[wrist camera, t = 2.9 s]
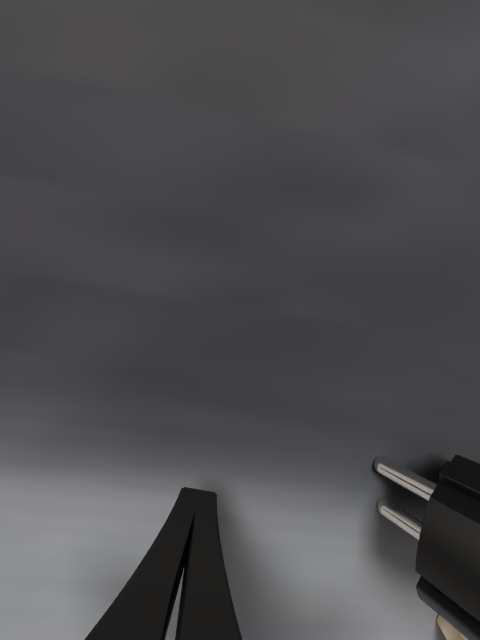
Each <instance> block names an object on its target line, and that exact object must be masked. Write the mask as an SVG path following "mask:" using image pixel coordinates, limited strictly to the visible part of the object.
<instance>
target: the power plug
mask: <svg viewBox="0 0 480 640" xmlns="http://www.w3.org/2000/svg"><path fill="white" fill-rule="evenodd" d="M374 467H375V469H376V471H377V472H378V473H380V474H381V475H383V476H385V477H386V478H388V479H390V480H392V481H393V482H395V483H397V484H399V485H401V486H402V487H404V488H406V489H408V490H409V491H411V492H413V493H415V494H417V495H418V496H420V497H422V498H424V499H425V500H427V501H428V504H427V508H426V511H425V514H424V518H423V522H421V521H420V520H418V519H417V518H415V517H413V516H412V515H410V514H409V513H407V512H406V511H404V510H402V509H401V508H399V507H398V506H396V505H395V504H393V503H391V502H390V501H388V500H386V499H381V500H380V501H379V502H378V510H379V512H380V514H381V515H383V516H384V517H385V518H387V519H388V520H390V521H391V522H393V523H394V524H396V525H397V526H398V527H400V528H401V529H403V530H404V531H406V532H407V533H409V534H410V535H411V536H413V537H414V538H416V539H417V540H419V542H418V548H417V557H416V570H415V571H416V572H417V573H419V574H420V575H421V577H420V579H419V581H418V583H417V586H416V588H417V593H418V595H419V597H420V599H421V600H423V601H424V602H425V603H426V604H427V605H428V606H430V607H431V608H432V609H433V610H434V611H435V612H437V613H438V614H439V615H440V616H441V617H442V618H444V619H445V620H446V621H447V622H448V623H450V624H451V625H452V626H453V627H454V628H455V629H457V630H458V631H459V632H460V633H461V634H462V635H464V636H465V637H466V638H467V639H468V640H480V464H479V463H476V462H474V461H472V460H469V459H467V458H464V457H462V456H459V455H455V457H454V458H453V460H452V461H451V462H449V461H447V462H446V464H445V465H444V467H443V468H442V470H441V472H440V473H439V483H438V484H435V483H433V482H431V481H429V480H427V479H425V478H423V477H421V476H419V475H417V474H415V473H413V472H411V471H409V470H407V469H405V468H403V467H401V466H399V465H397V464H395V463H394V462H392V461H390V460H388V459H386V458H383V457H379V458H377V459H376V460H375V462H374ZM385 501H386V502H385Z"/></svg>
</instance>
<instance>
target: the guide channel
mask: <svg viewBox="0 0 480 640" xmlns="http://www.w3.org/2000/svg"><path fill="white" fill-rule="evenodd" d="M436 621H437V623H438V625H439V627H440V628H441V630H442V632H443V634H444V636H445V638H446V639H447V640H468V639H467V638H466V637H465V636H464V635H462V634H461V633H460V632H459V631H458V630H457V629H455V628H454V627H453V626H452V625H451V624H450V623H448V622H447V621H446V620H445V619H444V618H442V617H441V616H440V615H439V616H438V618H437V620H436Z"/></svg>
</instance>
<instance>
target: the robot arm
mask: <svg viewBox="0 0 480 640" xmlns="http://www.w3.org/2000/svg"><path fill="white" fill-rule="evenodd" d="M184 565H185V566H184ZM183 569H184V574H183V582H182V590H181V598H180V606H179V614H178V621H177V629H176V637H175V640H242V637H241V634H240V630H239V626H238V622H237V619H236V615H235V611H234V607H233V603H232V598H231V594H230V590H229V585H228V580H227V576H226V571H225V566H224V560H223V554H222V548H221V542H220V536H219V528H218V518H217V495H216V494H215V492H209V491H204V490H198V489H192V488H186V487H184V488H182V489H181V491H180V493H179V496H178V498H177V500H176V503H175V505H174V507H173V509H172V511H171V513H170V515H169V516H168V518H167V520H166V522H165V524H164V526H163V527H162V529H161V531H160V532H159V534H158V536H157V537H156V539H155V541H154V543H153V544H152V546H151V547H150V549H149V551H148V552H147V554H146V555H145V557H144V558H143V560H142V561H141V563H140V564H139V566H138V567H137V569H136V570H135V572H134V573H133V575H132V576H131V578H130V579H129V581H128V582H127V584H126V585H125V586H124V588H123V589H122V591H121V592H120V593H119V595H118V596H117V598H116V599H115V600H114V602H113V603H112V604H111V606H110V607H109V608H108V610H107V611H106V612H105V614H104V615H103V616H102V618H101V619H100V620H99V622H98V623H97V624H96V625H95V627H94V628H93V629H92V631H91V632H90V633H89V634H88V636H87V637H86V638H85V640H165V637H166V633H167V629H168V626H169V622H170V618H171V614H172V611H173V607H174V603H175V599H176V596H177V592H178V588H179V584H180V580H181V577H182V573H183Z"/></svg>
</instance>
